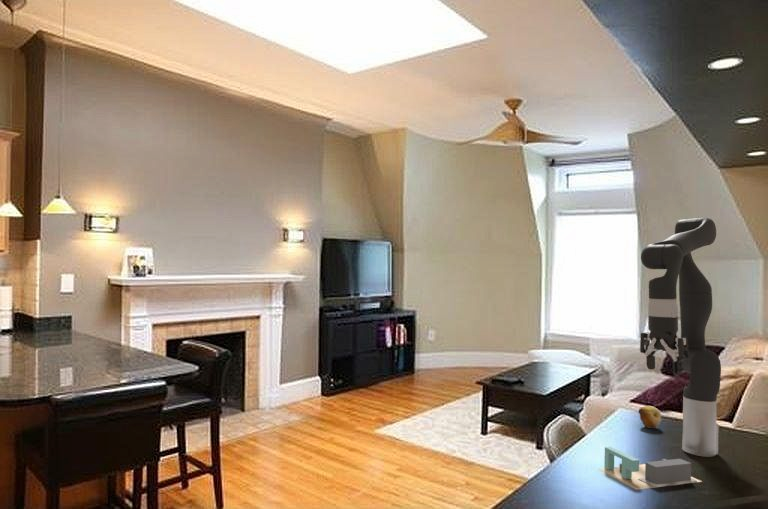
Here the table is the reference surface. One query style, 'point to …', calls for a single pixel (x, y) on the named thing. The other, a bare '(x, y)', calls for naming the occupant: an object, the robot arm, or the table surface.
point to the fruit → (650, 416)
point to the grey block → (667, 471)
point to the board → (641, 478)
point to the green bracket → (628, 462)
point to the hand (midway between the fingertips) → (663, 371)
